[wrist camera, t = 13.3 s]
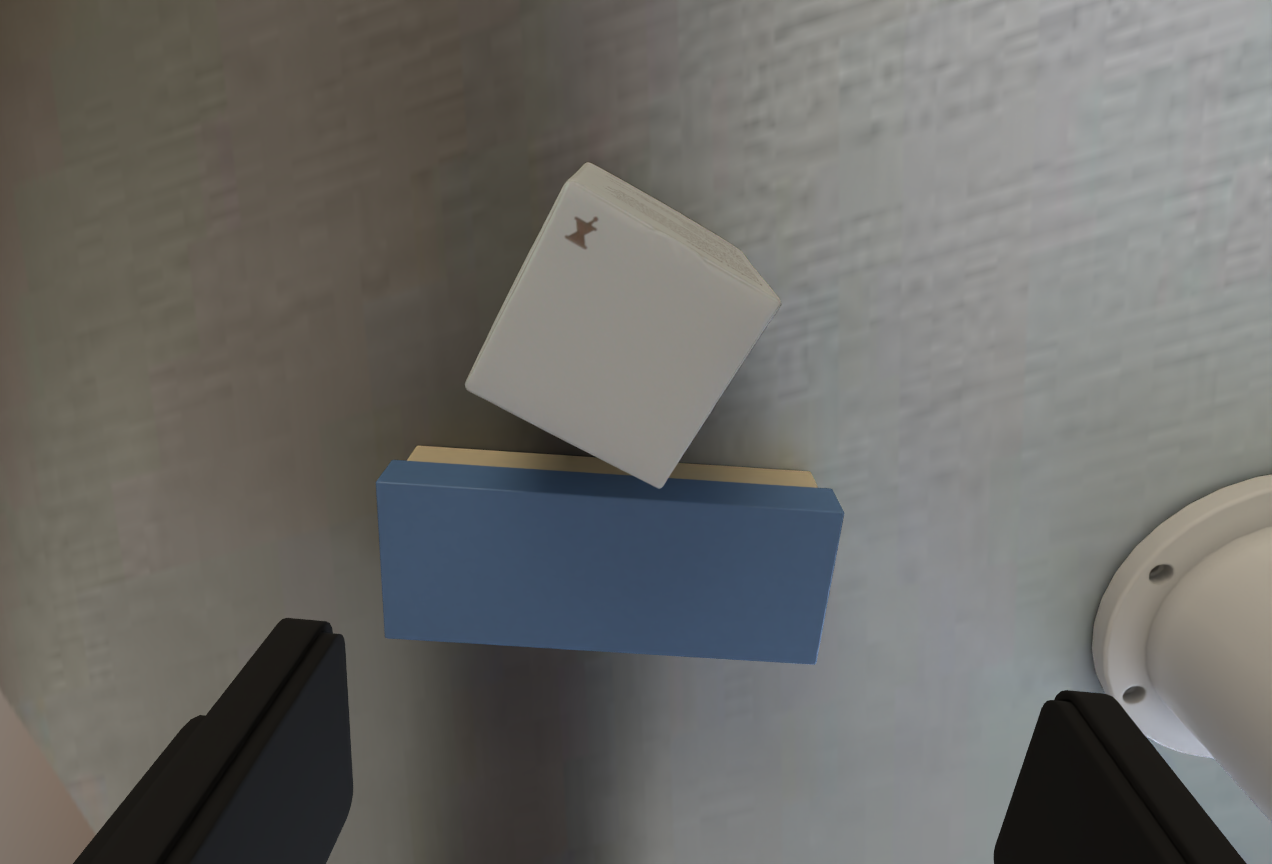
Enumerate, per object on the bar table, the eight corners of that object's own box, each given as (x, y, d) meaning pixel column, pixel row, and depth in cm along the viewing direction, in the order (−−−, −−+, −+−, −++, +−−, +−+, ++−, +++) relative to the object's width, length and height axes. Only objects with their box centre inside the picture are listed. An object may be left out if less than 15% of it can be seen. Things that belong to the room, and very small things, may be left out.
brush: (820, 464, 29) (845, 512, 25) (796, 603, 31) (816, 665, 27) (408, 436, 28) (375, 481, 25) (413, 579, 31) (384, 639, 27)
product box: (501, 319, 27) (454, 388, 20) (586, 155, 25) (566, 169, 18) (656, 404, 28) (661, 496, 21) (750, 253, 26) (788, 301, 19)
